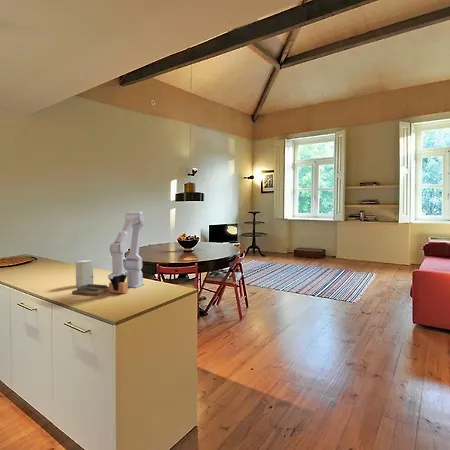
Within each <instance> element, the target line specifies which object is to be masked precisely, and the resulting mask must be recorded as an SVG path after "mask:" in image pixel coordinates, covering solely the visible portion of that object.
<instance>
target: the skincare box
mask: <svg viewBox="0 0 450 450" xmlns="http://www.w3.org/2000/svg"><path fill="white" fill-rule="evenodd" d="M85 284H94V260H91V259H89V260H88V259H85V260H84V259H83V260H78V261H75V286H76V287H79V286H82V285H85Z"/></svg>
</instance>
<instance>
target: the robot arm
mask: <svg viewBox="0 0 450 450" xmlns="http://www.w3.org/2000/svg"><path fill="white" fill-rule="evenodd" d="M145 218H146V217H145V213H144V212H143V211H126V212H125V216H124V221H125V222H124V223H123V227H122V229H121V231H119V232H118V233H117V235H116V238H115V240H114V242H112V243H111V244H110V246H109V252H110V256H111V258H112V259H111V261H112V262H111V263H112V264H111V265H112V266H111V267H112V273H110V274H108V278H107V279H108V280H109V281H110V283H112V285H113V288H114V290H116V291H117V290H118V285H119V282H125V281H126V282H127V283H128V288H138V287H140V286H142V285H145V283H144V281H143V280H144V277H143V275H144V274H143V271H142V269H143V258H142V257H141V256H140V254H139V253H140V246H141V237H142V230H143V229H142V228H143V227H144V224H145ZM131 229H132V234H131V235H132V236H131V242H130V249H129V254H128V255H126V256H125V258H124V253H125V251H126V243H127V242H128V239H129V232H130V231H131Z"/></svg>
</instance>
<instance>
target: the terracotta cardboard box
mask: <svg viewBox="0 0 450 450" xmlns="http://www.w3.org/2000/svg"><path fill="white" fill-rule="evenodd" d="M108 287H109V292H108V293H113V294H114V293H116V294H125V293H128V292H129V289H128V288H129V287H128V283H127V281H126V282H119V285H118V290H117V291H116V290H114V288H113V285H112V283H111V282H108Z"/></svg>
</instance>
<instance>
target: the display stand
mask: <svg viewBox="0 0 450 450" xmlns="http://www.w3.org/2000/svg"><path fill="white" fill-rule="evenodd" d="M71 293H72V295H73V294H74V295H81V296H82V295H84V296H92V297H98V296H101V295H103V294H105V293H110V292H109V286H108V285H106V284H97V283H96V284H95V283H93V284H85V285H82V286H76V289H74V290H72V292H71Z"/></svg>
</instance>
